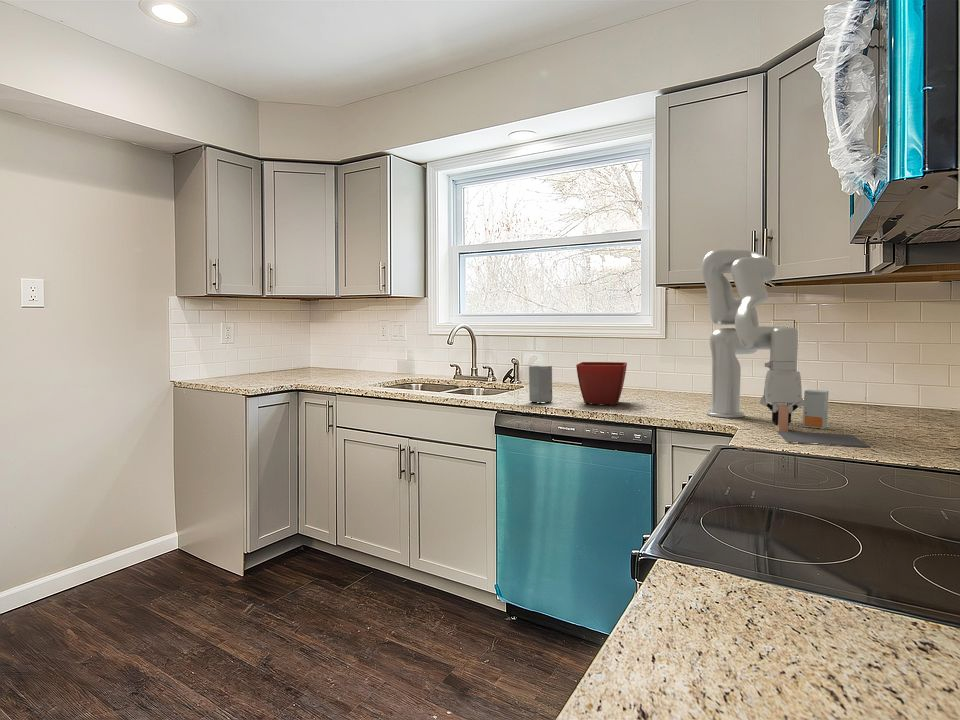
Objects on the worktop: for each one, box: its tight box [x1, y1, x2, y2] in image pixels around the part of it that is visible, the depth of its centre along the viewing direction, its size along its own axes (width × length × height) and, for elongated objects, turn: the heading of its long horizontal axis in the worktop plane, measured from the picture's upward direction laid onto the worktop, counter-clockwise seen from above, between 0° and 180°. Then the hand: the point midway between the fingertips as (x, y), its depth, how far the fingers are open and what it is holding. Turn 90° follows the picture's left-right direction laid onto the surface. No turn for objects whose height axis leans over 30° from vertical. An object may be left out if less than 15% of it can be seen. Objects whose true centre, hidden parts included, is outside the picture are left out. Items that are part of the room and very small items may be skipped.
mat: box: [776, 430, 871, 448], centre depth 163 cm, size 16×20×1 cm
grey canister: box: [528, 365, 553, 403], centre depth 239 cm, size 8×7×16 cm
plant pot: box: [575, 361, 628, 406], centre depth 236 cm, size 19×19×17 cm
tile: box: [774, 403, 789, 432], centre depth 177 cm, size 7×2×8 cm, turn 162°
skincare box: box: [802, 389, 830, 430], centre depth 181 cm, size 6×4×12 cm
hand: (781, 424), depth 178 cm, fingers closed on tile, 2 cm apart
